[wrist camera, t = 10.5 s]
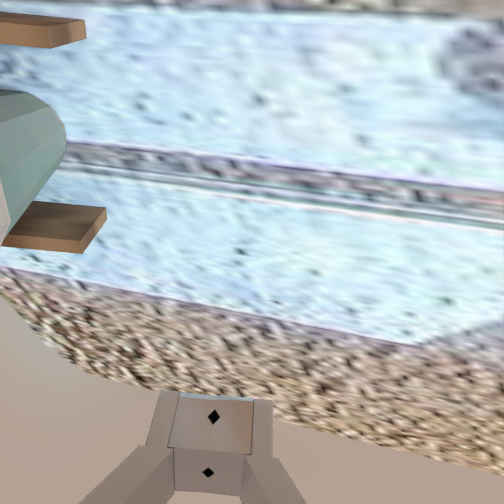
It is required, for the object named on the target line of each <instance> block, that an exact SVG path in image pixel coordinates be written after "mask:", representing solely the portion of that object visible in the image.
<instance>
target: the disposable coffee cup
mask: <svg viewBox="0 0 504 504" xmlns="http://www.w3.org/2000/svg"><path fill="white" fill-rule="evenodd" d="M66 145H67V141H66V135H65V129H64V124H63V123H62V122H61V120H60V119H59V117H58V116H57V114H56V113H55V111H54V110H53V108H52V107H51V106H49V105H48V104H46V103H45V102H43V101H42V100H40V99H38V98H37V97H35V96H34V95H30V94H29V93H25V92H14V91H0V247H1V245H2V242H3V240H4V238H5V237H6V236H7V234H8V233H9V232H10V230H11V229H12V228H13V226H14V225H15V224H16V222H17V221H18V220H19V218H20V217H21V216H22V214H23V213H24V211H25V210H26V209H27V207H28V206H29V205H30V203H31V202H32V201H33V199H34V198H35V197H36V195H37V194H38V193H39V191H40V190H41V189H42V187H43V186H44V185H45V183H46V182H47V181H48V179H49V178H50V177H51V175H52V174H53V173H54V171H55V170H56V169H57V167H58V166H59V164H60V162H61V160H62V158H63V155H64V153H65V151H66V149H67V148H66Z"/></svg>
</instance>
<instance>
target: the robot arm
mask: <svg viewBox="0 0 504 504" xmlns="http://www.w3.org/2000/svg"><path fill="white" fill-rule="evenodd" d="M174 491H189V492H190V491H191V492H205V493H215V494H223V495H231V496H240V500H241V502H242V504H307V503H306V501H305V500H304V498H303V496H302V495H301V493H300V491H299V490H298V488H297V487H296V485H295V483H294V482H293V480H292V478H291V477H290V475H289V474H288V472H287V470H286V469H285V467H284V466H283V464H282V462H281V461H280V459H279V458H274V457H273V402H272V400H264V399H254V400H253V398H245V397H232V396H219V395H217V396H211V395H203V394H194V393H186V392H177V391H166V390H162V391H161V393H160V395H159V398H158V402H157V405H156V409H155V412H154V416H153V419H152V423H151V426H150V430H149V433H148V437H147V441H146V444H145V446H138V447H137V448H136V449H135V450H134V451H133V452H132V453H131V454H130V455H129V456H128V457H127V458H126V459H125V460H124V461H123V462H122V463H121V464H120V465H118V467H116V468H115V469H114V470H113V471H112V472H111V473H110V474H109V475H108V476H107V477H106V478H105V479H104V480H103V481H102V482H101V483H100V484H99V485H98V486H97V487H96V488H94V489H93V490H92V492H90V493H89V494H88V495H87V496H86V497H85V498H84V499H83V500H82V501H81V502H80V503H79V504H166V503H167V502H168V501H169V499H170V498H171V497H172V495H173V494H174ZM207 491H208V492H207Z"/></svg>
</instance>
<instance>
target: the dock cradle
mask: <svg viewBox="0 0 504 504" xmlns="http://www.w3.org/2000/svg"><path fill="white" fill-rule="evenodd" d="M86 38H87V37H86V28H85V20H79V19H69V18H59V17H48V16H38V15H28V14H17V13H7V12H0V44H8V45H18V46H29V47H39V48H49V49H51V48H54V47H58V46H61V45H65V44H68V43H72V42H76V41H79V40H83V39H86ZM106 220H107V215H106V208H103V207H92V206H81V205H71V204H60V203H50V202H39V201H32V202H31V203H30V205H29V206H28V207H27V209H26V210H25V211H24V213H23V214H22V216H21V217H20V218H19V220H18V221H17V222H16V224H15V225H14V226H13V228H12V229H11V230H10V232H9V233H8V234H7V236H6V237H5V238H4V240H3V242H2V245H1V246H5V247H16V248H26V249H37V250H47V251H58V252H69V253H79V254H83V252H84V251H85V249H86V248H87V247H88V245H89V244H90V242H91V241H92V240H93V238H94V237H95V235H96V234H97V233H98V231H99V230H100V228H101V227H102V226H103V224H104V223H105V221H106Z"/></svg>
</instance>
